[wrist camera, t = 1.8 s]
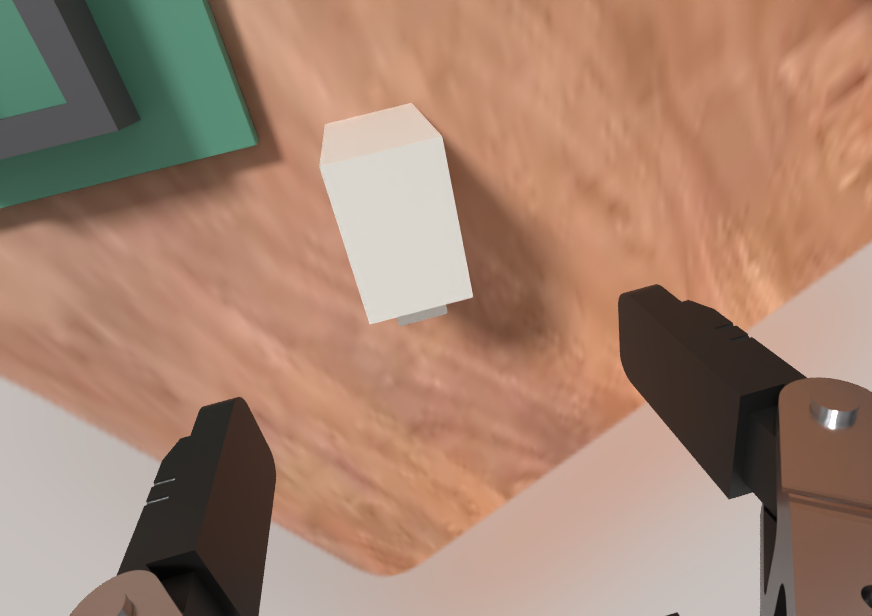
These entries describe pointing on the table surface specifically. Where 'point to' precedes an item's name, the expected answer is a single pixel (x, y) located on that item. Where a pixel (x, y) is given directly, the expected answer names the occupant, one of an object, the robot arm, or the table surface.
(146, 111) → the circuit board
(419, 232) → the plug
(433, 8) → the table surface
